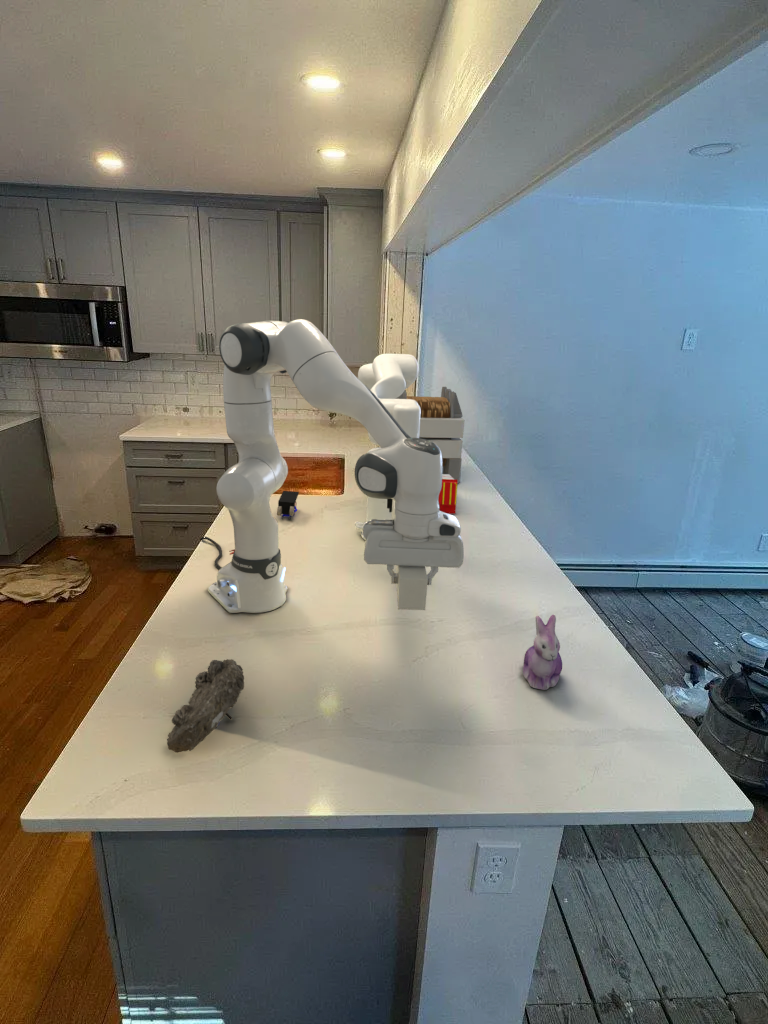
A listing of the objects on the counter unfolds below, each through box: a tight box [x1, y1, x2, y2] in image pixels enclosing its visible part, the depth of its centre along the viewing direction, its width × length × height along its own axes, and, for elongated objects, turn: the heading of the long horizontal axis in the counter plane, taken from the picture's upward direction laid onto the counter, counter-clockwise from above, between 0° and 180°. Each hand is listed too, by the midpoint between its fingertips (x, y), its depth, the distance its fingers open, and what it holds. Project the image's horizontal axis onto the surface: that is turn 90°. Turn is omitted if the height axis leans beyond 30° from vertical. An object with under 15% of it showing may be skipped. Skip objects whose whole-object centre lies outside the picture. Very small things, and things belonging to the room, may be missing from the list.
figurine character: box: [276, 490, 300, 521], centre depth 211 cm, size 7×8×15 cm
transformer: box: [395, 386, 465, 484], centre depth 268 cm, size 34×33×41 cm
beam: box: [391, 499, 428, 611], centre depth 139 cm, size 60×5×7 cm, turn 1°
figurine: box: [522, 614, 563, 691], centre depth 121 cm, size 9×10×15 cm
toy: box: [438, 474, 458, 515], centre depth 232 cm, size 12×13×30 cm
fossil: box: [166, 658, 245, 754], centre depth 106 cm, size 22×10×15 cm
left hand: (411, 583), depth 117 cm, fingers closed on beam, 5 cm apart
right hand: (401, 510), depth 162 cm, fingers closed on beam, 5 cm apart
